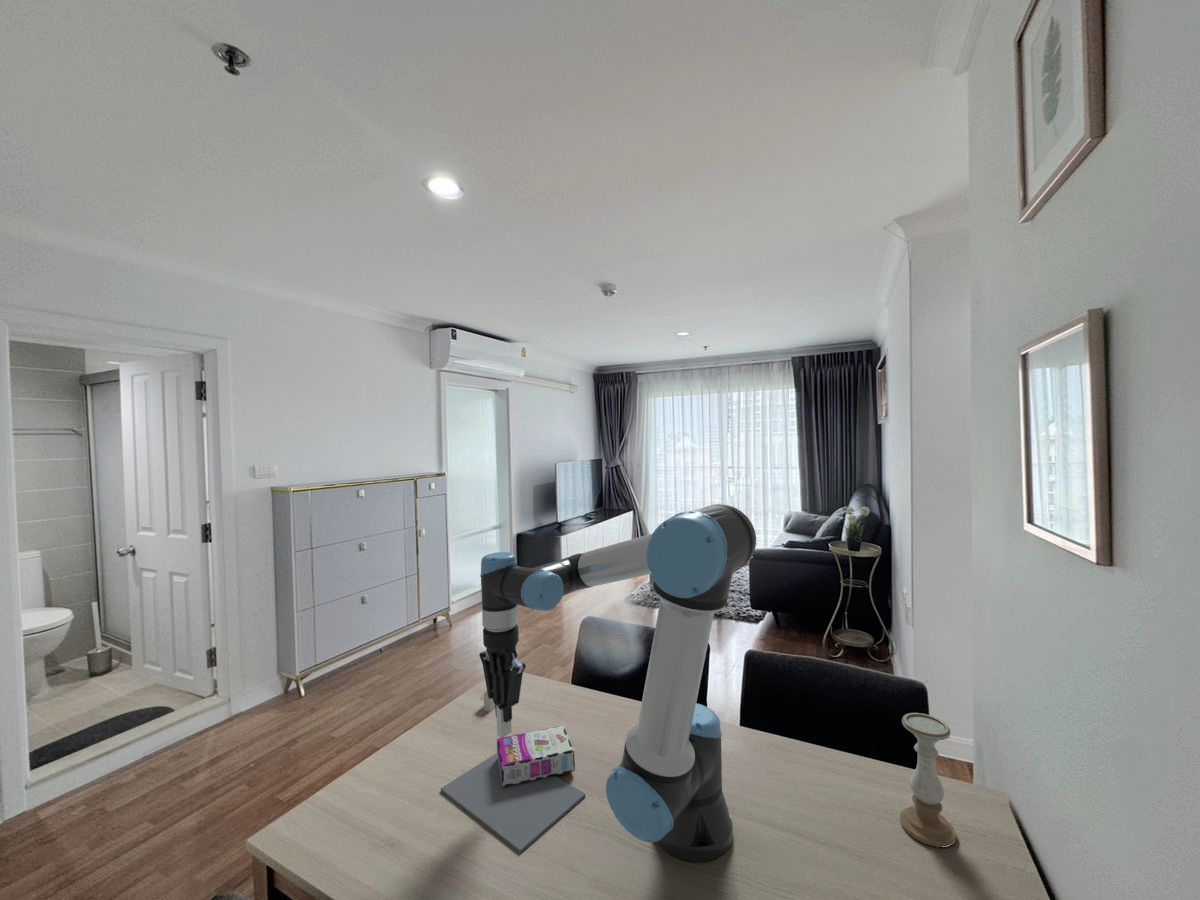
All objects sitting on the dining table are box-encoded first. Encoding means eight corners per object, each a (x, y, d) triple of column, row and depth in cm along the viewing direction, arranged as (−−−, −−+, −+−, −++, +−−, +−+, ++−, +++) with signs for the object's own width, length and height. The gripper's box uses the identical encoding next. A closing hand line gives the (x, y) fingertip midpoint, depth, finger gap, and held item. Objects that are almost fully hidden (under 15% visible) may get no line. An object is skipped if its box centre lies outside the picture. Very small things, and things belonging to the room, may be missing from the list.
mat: (585, 796, 103) (585, 793, 103) (520, 853, 89) (520, 849, 89) (505, 749, 120) (505, 746, 120) (440, 791, 106) (440, 788, 106)
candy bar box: (501, 789, 105) (575, 772, 110) (500, 766, 105) (574, 750, 110) (497, 758, 116) (565, 744, 120) (496, 737, 116) (564, 723, 120)
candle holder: (889, 819, 95) (887, 716, 94) (921, 806, 98) (919, 706, 97) (934, 855, 86) (932, 742, 86) (967, 839, 90) (965, 730, 89)
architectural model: (479, 711, 138) (478, 685, 138) (494, 698, 145) (493, 674, 144) (489, 713, 137) (489, 687, 137) (504, 701, 143) (503, 675, 143)
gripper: (534, 626, 104) (537, 736, 104) (495, 614, 112) (499, 716, 113) (506, 638, 98) (510, 754, 99) (467, 624, 107) (471, 731, 107)
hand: (504, 733), depth 106 cm, fingers closed
